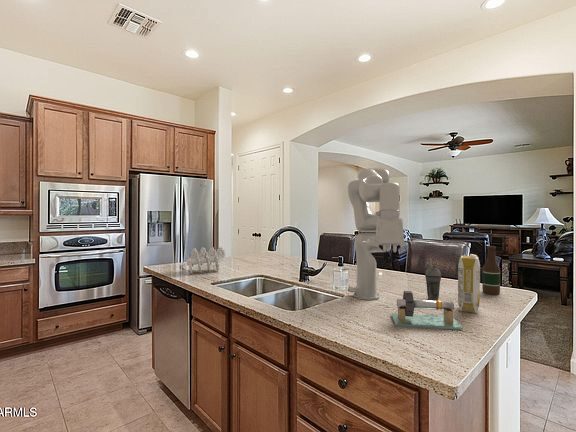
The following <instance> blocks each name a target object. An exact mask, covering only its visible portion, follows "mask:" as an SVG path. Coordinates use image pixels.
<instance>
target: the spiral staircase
mask: <svg viewBox="0 0 576 432" xmlns="http://www.w3.org/2000/svg"><path fill="white" fill-rule="evenodd" d="M225 257H226V250H225V249H224V248H223V246H218V248H217V249H214V246H212V247H210V248H209V249H208V251H206V248H205V247H201V248H200V251H198V250H197V248H196V247H195V248H194V247H193V249H191V252H190V256H189V255H187V259H186V261H185V264H186V266H189V273H190V274H191V273H192V274H193V267H194V265H195V266H196V265H197V266H198V271H199V273H200V272H201V273H202V266H203V264H206V268H207V271H208V273H211V265H212V263H215V265H214V266H215V269H216V271H217V272H219V270H220V263H221V262H223V261H224V259H225Z"/></svg>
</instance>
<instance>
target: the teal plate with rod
mask: <svg viewBox="0 0 576 432" xmlns="http://www.w3.org/2000/svg"><path fill="white" fill-rule="evenodd" d="M396 306H397V307H396V308H397V313H394V312H391V315H390V316H391V318H392V321H393V324H394V326H395V327H401V328H404V327H405V328H417V329H418V328H419V329H420V328H421V329H422V328H423V329H433V330H434V329H435V330H453V331H454V330H455V331H463V329H464V328H463V326H462V325H461V324H460V323H459V322H458V321H457V320H456V319H455V318H454V309H455V303H454V301H453V300H452V301H449V300H448V301H447V300H441V299H438V300H436V301H431V300H428V299H426V300H424V299H414V309H428V310H429V309H430V310H437V311H438V310H439V311H441V310H443V315H434V314H433V315H432V314H417V313H416V314H415V313H414V314H413V316H412V317H411V316H405V308H404V307H406V301H405V299H403V298H402V299H401V298H397V299H396Z"/></svg>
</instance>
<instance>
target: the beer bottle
mask: <svg viewBox="0 0 576 432" xmlns="http://www.w3.org/2000/svg"><path fill="white" fill-rule="evenodd" d="M496 249H497V248H496V246H494V245H489V246H487V255H486V256H487V257H486V258H487V259H486V262H485V263H484V264H483V266H482V293H484V294H486V295H491V296H492V295H494V296H496V295H497V296H498V295H500V293H501V268H500V265H499V264H498V262H497V257H496V255H497V254H496Z"/></svg>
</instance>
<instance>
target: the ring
mask: <svg viewBox="0 0 576 432" xmlns="http://www.w3.org/2000/svg"><path fill="white" fill-rule="evenodd" d="M402 299H405V301H406V307H404V308H405V316H411V317H412V316H413V314H415V308H414V300H415V299H414V294H413V292H412V290H403V294H402Z"/></svg>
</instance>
